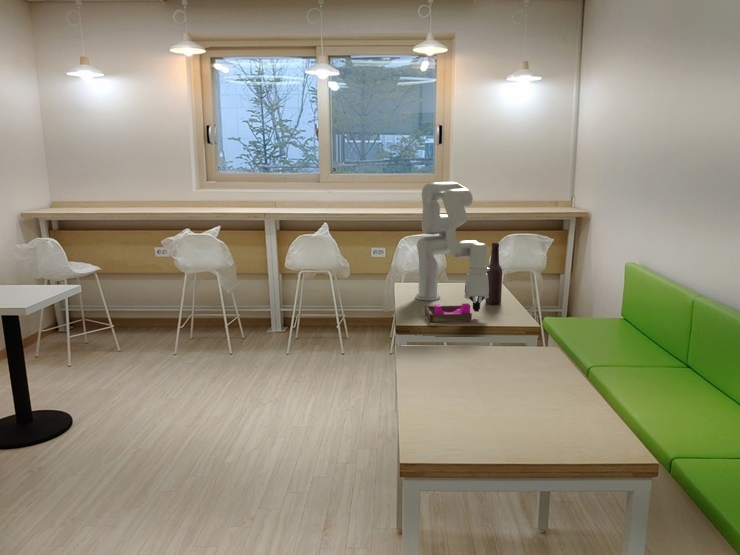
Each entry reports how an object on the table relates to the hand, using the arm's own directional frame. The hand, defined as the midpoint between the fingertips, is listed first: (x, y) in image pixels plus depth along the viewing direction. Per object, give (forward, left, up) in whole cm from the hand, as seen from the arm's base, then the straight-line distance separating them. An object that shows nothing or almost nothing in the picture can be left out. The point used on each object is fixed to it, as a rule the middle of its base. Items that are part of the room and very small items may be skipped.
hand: (476, 310), depth 263 cm
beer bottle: (-25, +15, -3) cm, 29 cm away
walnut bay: (0, -13, -3) cm, 13 cm away
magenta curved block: (+3, -12, -4) cm, 13 cm away
